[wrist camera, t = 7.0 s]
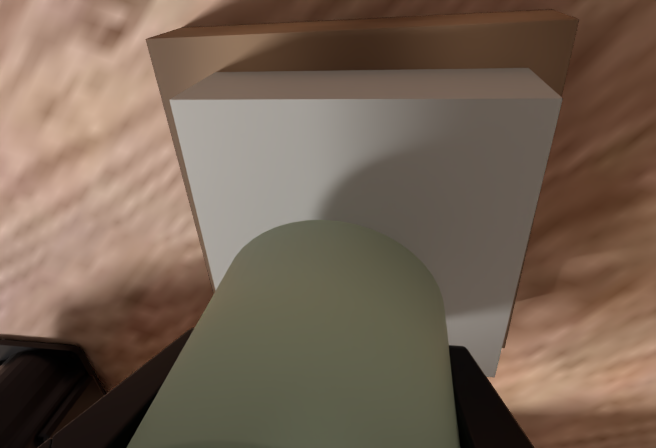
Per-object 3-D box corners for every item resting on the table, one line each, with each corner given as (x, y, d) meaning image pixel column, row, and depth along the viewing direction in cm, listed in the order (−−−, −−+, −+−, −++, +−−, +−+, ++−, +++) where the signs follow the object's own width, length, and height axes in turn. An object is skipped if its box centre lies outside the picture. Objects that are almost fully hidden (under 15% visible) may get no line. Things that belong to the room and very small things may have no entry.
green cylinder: (243, 377, 12) (162, 592, 8) (202, 216, 10) (45, 418, 5) (436, 394, 12) (454, 644, 7) (455, 223, 9) (503, 470, 4)
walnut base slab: (244, 284, 21) (222, 327, 19) (188, 25, 15) (145, 39, 13) (491, 298, 20) (504, 347, 17) (546, 7, 13) (579, 19, 11)
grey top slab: (255, 296, 18) (230, 352, 15) (215, 72, 13) (169, 99, 10) (480, 312, 16) (494, 377, 14) (528, 67, 12) (562, 98, 9)
